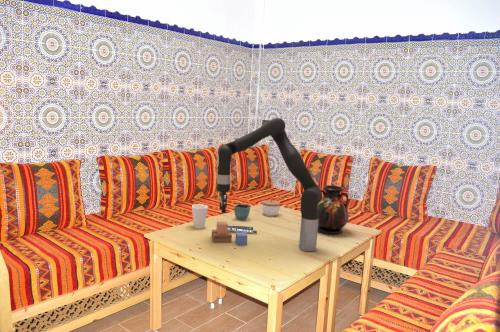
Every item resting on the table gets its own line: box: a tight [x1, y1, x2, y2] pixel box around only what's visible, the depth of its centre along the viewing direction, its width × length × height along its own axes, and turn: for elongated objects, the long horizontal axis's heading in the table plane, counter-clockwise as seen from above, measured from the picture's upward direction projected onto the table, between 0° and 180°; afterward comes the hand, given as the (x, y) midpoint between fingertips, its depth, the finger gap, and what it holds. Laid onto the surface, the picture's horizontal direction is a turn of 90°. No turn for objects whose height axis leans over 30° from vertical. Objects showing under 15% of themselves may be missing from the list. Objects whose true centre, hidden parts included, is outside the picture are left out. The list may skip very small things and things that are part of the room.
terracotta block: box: [215, 220, 229, 234], centre depth 218 cm, size 6×6×6 cm
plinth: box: [211, 229, 233, 244], centre depth 219 cm, size 10×10×4 cm
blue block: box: [234, 231, 248, 246], centre depth 214 cm, size 6×6×6 cm
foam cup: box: [191, 203, 209, 230], centre depth 238 cm, size 10×9×13 cm
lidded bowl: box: [261, 199, 281, 217], centre depth 273 cm, size 13×13×11 cm
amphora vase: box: [317, 184, 350, 236], centre depth 242 cm, size 22×22×28 cm
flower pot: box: [233, 203, 251, 221], centre depth 259 cm, size 9×9×9 cm
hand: (222, 211), depth 217 cm, fingers open, 8 cm apart
